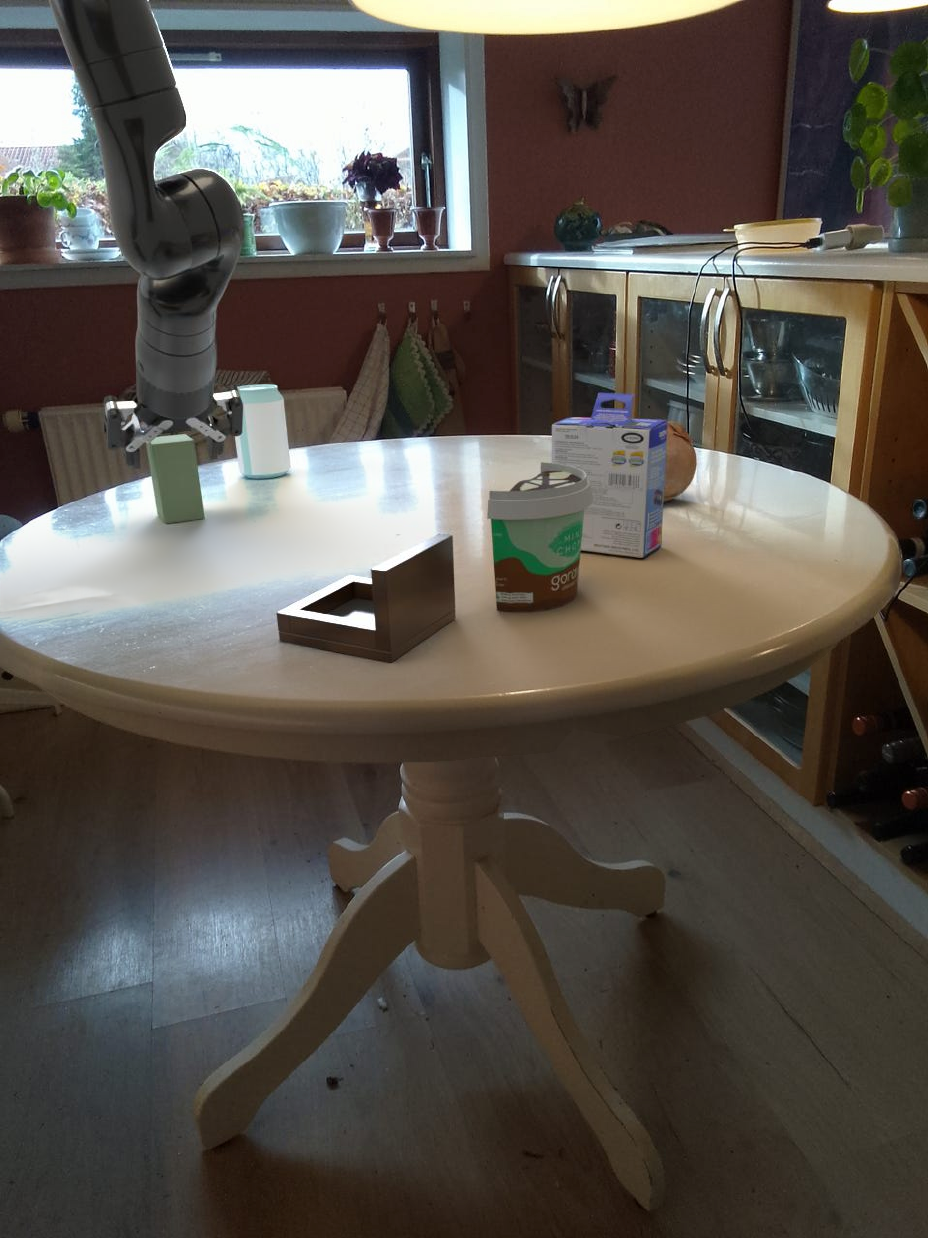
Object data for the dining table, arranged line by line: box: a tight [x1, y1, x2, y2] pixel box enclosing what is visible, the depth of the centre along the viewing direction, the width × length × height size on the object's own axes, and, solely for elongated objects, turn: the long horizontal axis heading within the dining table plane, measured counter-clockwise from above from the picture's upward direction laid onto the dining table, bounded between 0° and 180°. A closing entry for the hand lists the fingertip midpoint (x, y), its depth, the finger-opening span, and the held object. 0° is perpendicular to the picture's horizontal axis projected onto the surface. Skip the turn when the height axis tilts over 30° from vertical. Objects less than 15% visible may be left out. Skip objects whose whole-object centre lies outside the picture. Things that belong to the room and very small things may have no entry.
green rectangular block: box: [145, 433, 206, 525], centre depth 102 cm, size 4×5×9 cm
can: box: [234, 384, 291, 480], centre depth 123 cm, size 7×7×12 cm
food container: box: [486, 461, 593, 613], centre depth 73 cm, size 12×6×10 cm, turn 155°
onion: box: [663, 420, 698, 503], centre depth 103 cm, size 10×9×10 cm
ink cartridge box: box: [550, 392, 668, 559], centre depth 84 cm, size 10×6×14 cm, turn 61°
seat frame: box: [275, 533, 456, 663], centre depth 68 cm, size 10×10×7 cm
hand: (173, 458), depth 101 cm, fingers open, 8 cm apart
